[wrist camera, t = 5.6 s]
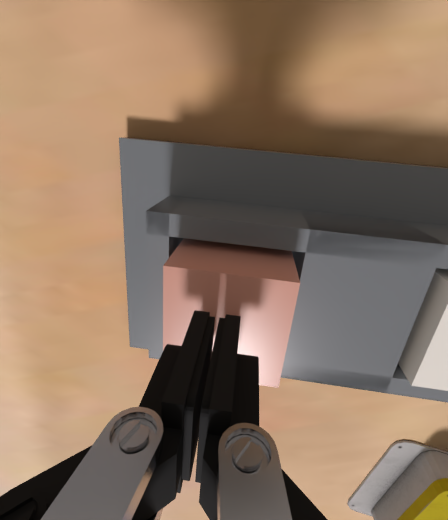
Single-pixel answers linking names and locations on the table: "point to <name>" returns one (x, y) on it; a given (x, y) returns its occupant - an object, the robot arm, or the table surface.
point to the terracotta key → (234, 297)
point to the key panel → (296, 246)
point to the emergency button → (405, 484)
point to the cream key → (429, 338)
